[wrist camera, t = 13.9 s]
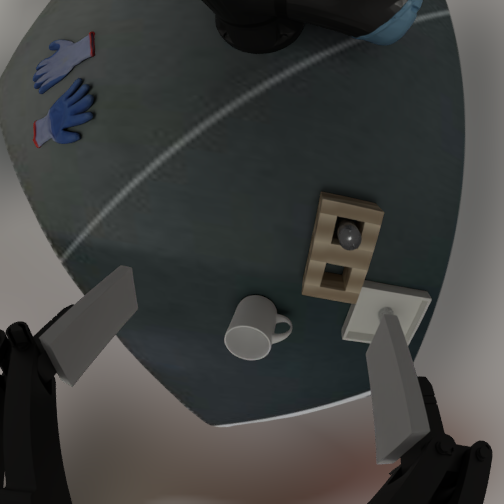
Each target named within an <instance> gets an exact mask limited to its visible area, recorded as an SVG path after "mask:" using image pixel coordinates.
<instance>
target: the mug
mask: <svg viewBox="0 0 504 504" xmlns="http://www.w3.org/2000/svg"><path fill="white" fill-rule="evenodd" d="M280 322H287V323H288V324H289V325H290V329H289V331H287V332H286V333H282V334H274V330H275V326H276V323H280ZM291 331H292V323H291V321H290V320H289V319H288V318H287V317H286V316H283V315H280V314H277V309H276V307H275V305H274V304H273V302H272V301H270V300H269V299H268V298H266V297H263V296H260V295H251V296H248V297H246V298H244V299H243V300H242V301H241V302H240V303H239V305H238V307H237V309H236V311H235V313H234V316H233V318H232V320H231V323H230V325H229V327H228V330H227V332H226V335H225V345H226V347H227V348H228V350H229V351H230V352H231V353H232V354H234V355H235V356H237V357H239V358H242V359H246V360H258V359H261V358H263V357H265V356H266V355H267V354H268V353H269V352H270V349H271V344H273V343H276V342H279V341H282V340H284V339H285V338H287V337H288V336H289V335H290V333H291Z"/></svg>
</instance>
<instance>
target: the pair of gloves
mask: <svg viewBox="0 0 504 504" xmlns="http://www.w3.org/2000/svg"><path fill="white" fill-rule="evenodd" d="M94 36H95V33H94V32H90V33H89V35H88V36H86V37H84V38H83V39H81V40H80V41H78V42H77V43H73V42H71V41H67V40H56V41H53V42H52V43H51V44H50V45H49V49H50V50H58V51H57V52H56V53H54V54H53V55H52V56H51V57H49V58H46V59H44V60H43V61H41V62H40V63H39V64H38V66H37V68H36V70H37V72H36V73H35V74H34V76H33V81H34V82H36V83H35V84H34V88H35V89H38V88H40V89H39V93H40V94H43V93H44V92H46V91H47V90H48V89H49V88H51V87H52V86H54V85H55V84H57V83H58V82H59V81H61V80H62V79H63V78H64V77H65V76H66V75H67V74H68V73H69V72H70V71H71V70H72V69H73V67H74V66H75V65H78V64H79V63H81V62H82V61H83V60H84V59H87V58H89V57H93V56H94V55H95V45H94ZM81 84H82V79H81V78H78V79H77V80H75V82H74V83H73V84H72V86H71V87H70V88H69V89H68V90H67V91H66V92H65V93H64V94H63V95H62V96H61V97H60V98H59V99H58V100H57V101H56V102H55V103H54V104H53V106H52V107H51V108H50V110H49V112H48V115H47V116H45V117H44V118H42V119H40V120H38V121H35V122H34V138H33V141H34V143H35V145H36V147H37V148H40V147H41V145H42V144H43V143H45V142H46V141H48V140H49V139H51V138H53V140H54V141H55V142H57V143H61V144H67V143H72V142H75V141H77V140H79V139H80V138H81V137H80V135H79V133H75V132H68V131H64V130H63V129H65V128H68V127H73V126H77V125H81V124H83V123H85V122H87V121H89V120H91V119H92V118H93V114H92V113H91V112H86V113H84V112H85V111H87V110H88V109H89V108H90V107H91V105H92V104H93V101H94V97H93V96H92V95H90V94H89V95H86V96H85V94H86V93H87V92H88V91H89V89H90V86H89V85H88V84H84V85H82V86H81V87H80V85H81ZM79 87H80V89H79V90H78V91H77V92H76V90H77V89H78V88H79ZM75 92H76V93H75ZM74 93H75V94H74ZM73 94H74V95H73ZM71 95H73V96H71ZM84 96H85V97H84ZM79 100H80V101H79Z"/></svg>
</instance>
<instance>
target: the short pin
mask: <svg viewBox="0 0 504 504" xmlns="http://www.w3.org/2000/svg"><path fill="white" fill-rule="evenodd" d="M335 228H336V231H337V235H338V238H339V242H340V245H341V246H342V248H344V249H345V250H350V251H351V250H355V249H357V248H358V247H359V246H360V244H361V241H362V237H361V234H360V232H359V230H358V228H357V226H356V224H355V222H354V220H353V219H348V218H344V217H339V216H337V219H336V223H335Z"/></svg>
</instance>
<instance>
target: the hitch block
mask: <svg viewBox="0 0 504 504" xmlns="http://www.w3.org/2000/svg"><path fill="white" fill-rule="evenodd" d="M383 215H384V212H383V211H382V210H381V208H380V207H379V206H378V205H377V204H376V203H372V202H368V201H364V200H359V199H355V198H350V197H345V196H341V195H336V194H331V193H326V192H321V194H320V199H319V205H318V210H317V215H316V220H315V225H314V230H313V235H312V240H311V244H310V249H309V254H308V258H307V263H306V267H305V272H304V276H303V286H302V295H307V296H312V297H318V298H323V299H329V300H335V301H341V302H346V303H352V304H356V303H357V300H358V297H359V294H360V292H361V289H362V286H363V283H364V280H365V277H366V274H367V271H368V268H369V264H370V261H371V258H372V255H373V251H374V248H375V245H376V241H377V238H378V234H379V230H380V227H381V223H382V219H383ZM337 216H339V217H344V218H348V219H353V220H357V221H356V226H357V228H358V230H359V232H360V234H361V237H362V241H361V244H360V246H359V247H358V248H357V249H355V250H351V251H350V250H345V249H344V248H342V246H341V245H340V242H339V238H338V235H337V233H335V232H334V228H335V223H336V219H337ZM326 263H330V264H335V265H341V266H345V267H344V270H343V274H342V275H340V274H335V273H329V272H324V269H325V265H326Z"/></svg>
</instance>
